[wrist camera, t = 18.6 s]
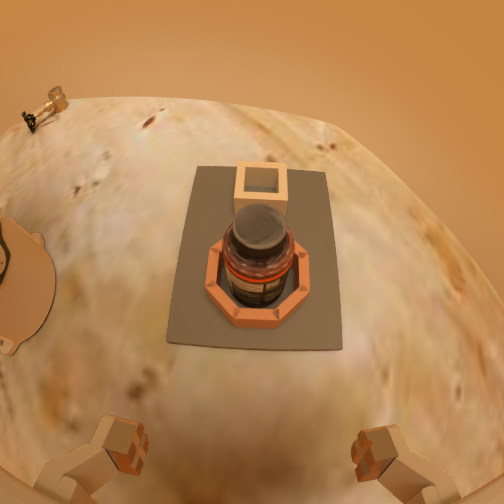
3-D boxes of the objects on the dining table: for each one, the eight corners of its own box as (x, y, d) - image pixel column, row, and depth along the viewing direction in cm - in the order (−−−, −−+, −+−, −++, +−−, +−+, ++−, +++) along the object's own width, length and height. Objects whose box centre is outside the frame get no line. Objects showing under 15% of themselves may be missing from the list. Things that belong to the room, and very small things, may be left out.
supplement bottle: (250, 248, 32) (251, 179, 22) (294, 277, 31) (316, 216, 21) (216, 288, 30) (201, 231, 20) (263, 321, 28) (272, 277, 18)
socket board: (339, 350, 28) (354, 342, 24) (168, 342, 28) (155, 334, 24) (323, 177, 39) (330, 154, 35) (198, 171, 39) (194, 148, 35)
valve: (65, 102, 54) (29, 129, 49) (57, 83, 48) (19, 110, 43) (72, 107, 52) (34, 136, 47) (64, 86, 46) (23, 116, 41)
